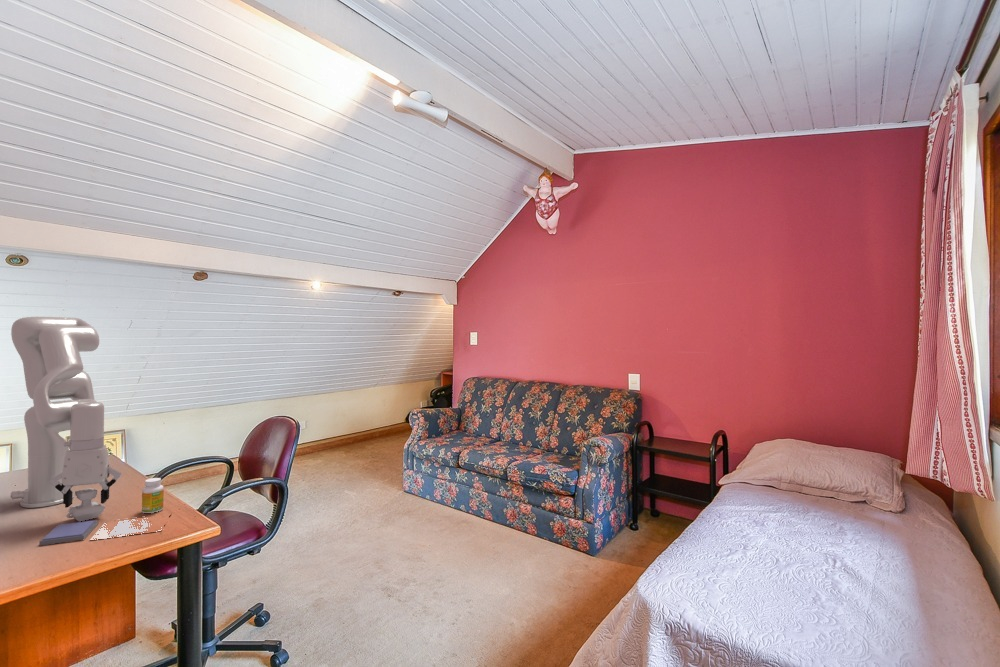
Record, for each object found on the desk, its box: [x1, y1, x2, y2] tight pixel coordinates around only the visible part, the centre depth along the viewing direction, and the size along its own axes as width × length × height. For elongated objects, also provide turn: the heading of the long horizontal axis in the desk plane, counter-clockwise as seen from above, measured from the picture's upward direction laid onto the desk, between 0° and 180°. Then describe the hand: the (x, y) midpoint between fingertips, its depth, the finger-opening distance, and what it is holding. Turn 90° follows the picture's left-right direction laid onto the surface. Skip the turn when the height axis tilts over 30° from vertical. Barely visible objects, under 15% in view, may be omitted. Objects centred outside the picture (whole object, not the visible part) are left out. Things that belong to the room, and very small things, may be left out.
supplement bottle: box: [141, 477, 165, 514], centre depth 148 cm, size 5×5×10 cm
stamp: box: [66, 487, 106, 522], centre depth 141 cm, size 9×7×8 cm
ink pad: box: [39, 519, 99, 547], centre depth 130 cm, size 9×11×2 cm
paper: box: [89, 518, 162, 541], centre depth 136 cm, size 16×14×1 cm
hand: (86, 503), depth 141 cm, fingers open, 7 cm apart
